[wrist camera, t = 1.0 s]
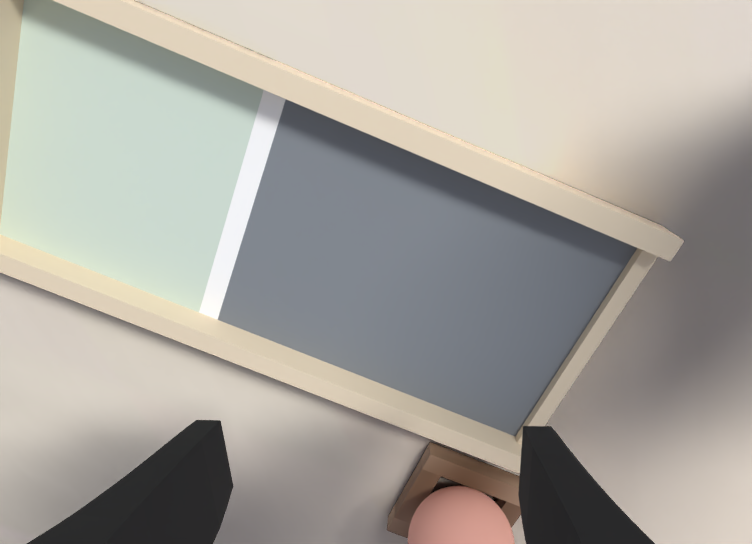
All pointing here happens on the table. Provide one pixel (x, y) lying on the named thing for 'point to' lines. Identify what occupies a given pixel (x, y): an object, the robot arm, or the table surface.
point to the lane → (301, 226)
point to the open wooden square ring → (458, 470)
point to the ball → (459, 519)
